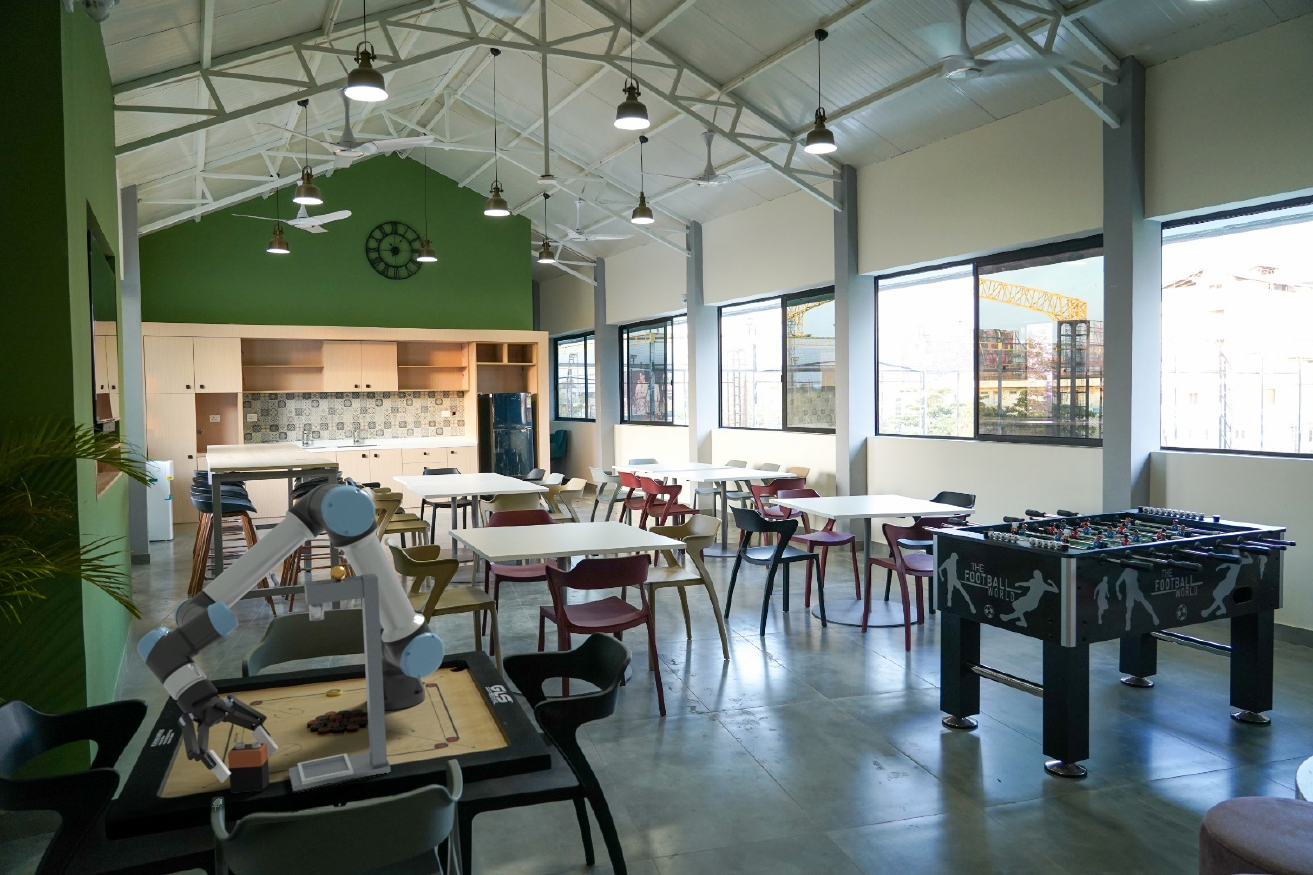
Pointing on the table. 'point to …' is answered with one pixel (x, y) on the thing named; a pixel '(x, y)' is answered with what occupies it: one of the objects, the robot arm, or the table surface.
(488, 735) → the table surface
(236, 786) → the battery
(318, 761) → the arbor press
